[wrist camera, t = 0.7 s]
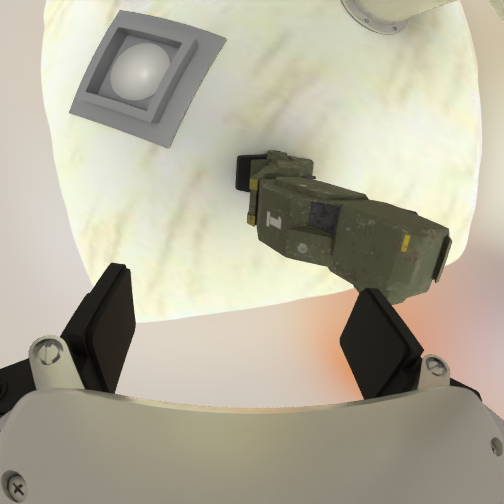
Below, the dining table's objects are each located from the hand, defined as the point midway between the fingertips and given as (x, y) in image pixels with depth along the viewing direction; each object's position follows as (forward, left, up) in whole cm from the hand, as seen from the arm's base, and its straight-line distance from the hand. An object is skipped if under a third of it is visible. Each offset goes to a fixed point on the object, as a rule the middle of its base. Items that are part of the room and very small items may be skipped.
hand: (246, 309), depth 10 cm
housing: (-9, -19, -31) cm, 37 cm away
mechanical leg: (-3, +6, -31) cm, 32 cm away
